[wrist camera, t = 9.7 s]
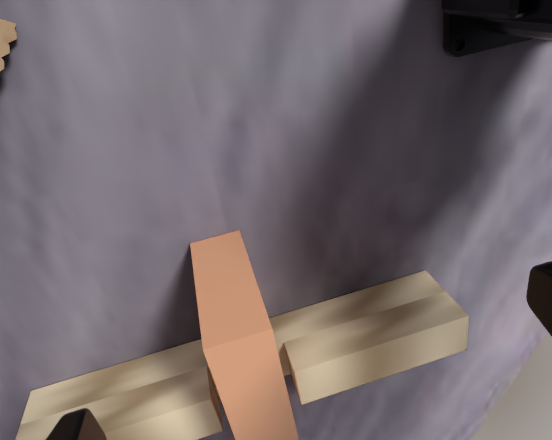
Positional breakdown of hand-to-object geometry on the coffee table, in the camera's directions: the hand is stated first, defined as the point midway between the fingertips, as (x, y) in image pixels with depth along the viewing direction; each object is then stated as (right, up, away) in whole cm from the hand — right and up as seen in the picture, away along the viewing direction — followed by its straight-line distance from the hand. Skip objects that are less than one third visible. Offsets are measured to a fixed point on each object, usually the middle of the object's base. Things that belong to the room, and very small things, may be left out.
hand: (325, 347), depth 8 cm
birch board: (-3, -4, +16) cm, 16 cm away
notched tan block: (-3, -4, +16) cm, 16 cm away
